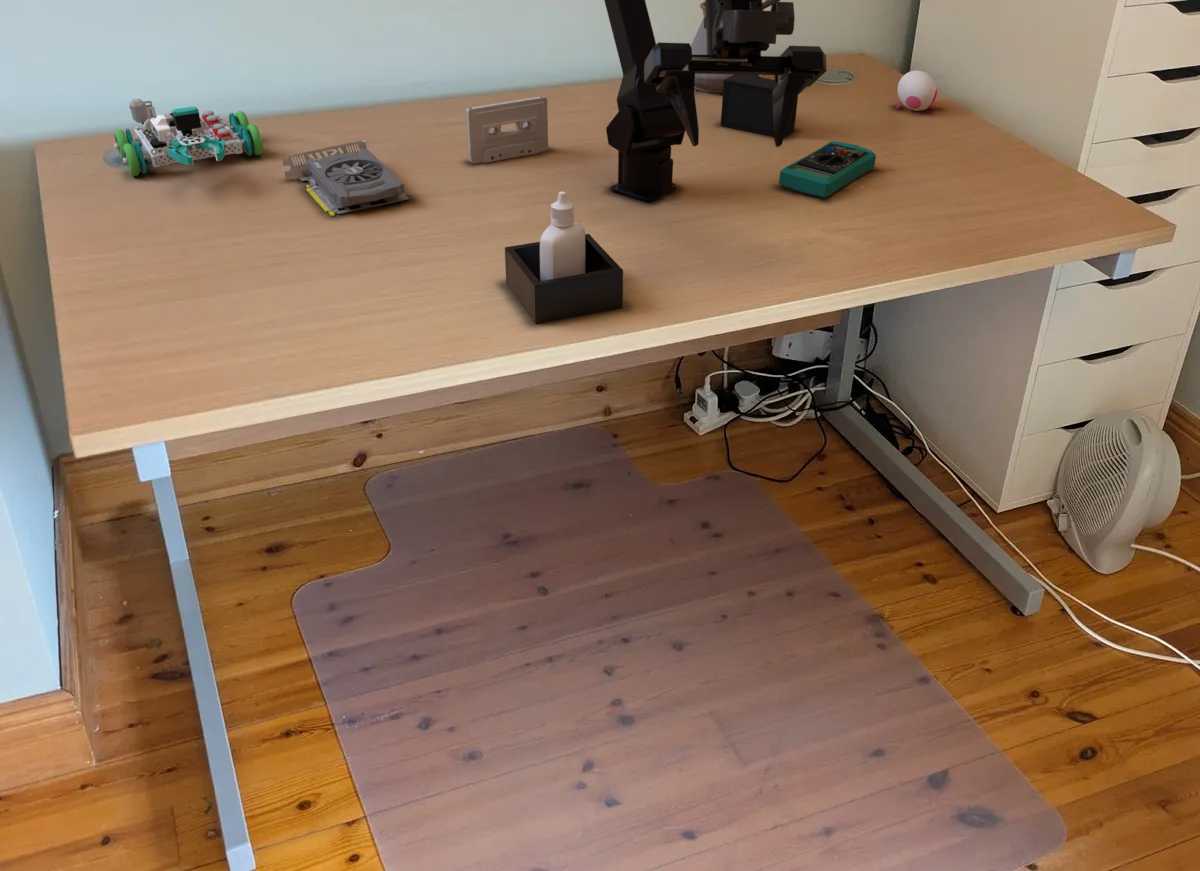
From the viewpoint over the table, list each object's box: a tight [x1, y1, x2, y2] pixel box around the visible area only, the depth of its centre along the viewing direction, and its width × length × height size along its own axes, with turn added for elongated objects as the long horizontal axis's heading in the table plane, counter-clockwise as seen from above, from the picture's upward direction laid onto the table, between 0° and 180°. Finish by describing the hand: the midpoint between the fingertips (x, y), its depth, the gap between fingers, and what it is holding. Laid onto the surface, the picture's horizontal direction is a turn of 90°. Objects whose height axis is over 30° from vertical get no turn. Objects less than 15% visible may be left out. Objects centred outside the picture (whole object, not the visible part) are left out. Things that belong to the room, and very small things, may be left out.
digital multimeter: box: [778, 140, 877, 199], centre depth 154 cm, size 7×15×3 cm, turn 142°
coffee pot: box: [690, 0, 781, 94], centre depth 185 cm, size 21×12×15 cm, turn 115°
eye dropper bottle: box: [539, 191, 586, 281], centre depth 122 cm, size 4×6×12 cm
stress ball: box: [896, 70, 938, 112], centre depth 178 cm, size 8×8×7 cm
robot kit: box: [113, 98, 264, 177], centre depth 153 cm, size 19×25×9 cm
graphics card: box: [281, 139, 410, 217], centre depth 148 cm, size 17×4×12 cm
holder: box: [504, 233, 624, 325], centre depth 124 cm, size 10×10×4 cm
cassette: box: [465, 95, 549, 165], centre depth 158 cm, size 12×2×8 cm, turn 118°
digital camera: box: [720, 74, 799, 138], centre depth 169 cm, size 10×5×7 cm, turn 58°
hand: (737, 145), depth 121 cm, fingers open, 9 cm apart
